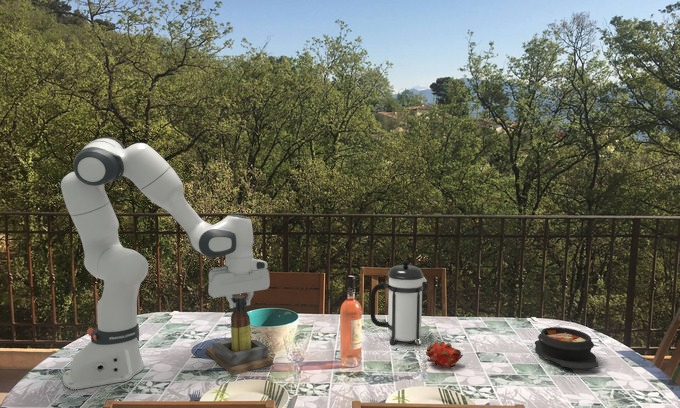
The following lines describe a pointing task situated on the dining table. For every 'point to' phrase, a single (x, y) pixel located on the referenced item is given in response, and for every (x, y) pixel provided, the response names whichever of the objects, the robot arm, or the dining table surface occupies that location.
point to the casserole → (566, 347)
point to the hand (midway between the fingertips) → (240, 306)
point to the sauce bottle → (240, 325)
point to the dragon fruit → (443, 354)
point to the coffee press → (402, 303)
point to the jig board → (241, 367)
